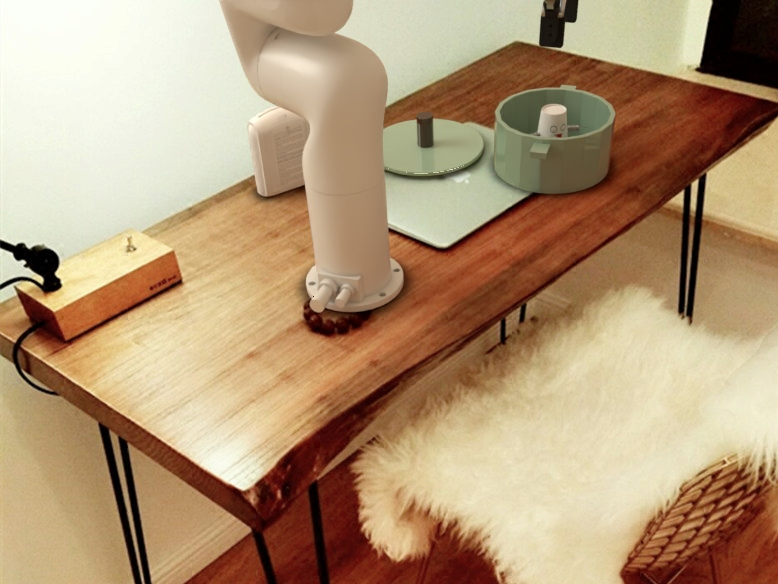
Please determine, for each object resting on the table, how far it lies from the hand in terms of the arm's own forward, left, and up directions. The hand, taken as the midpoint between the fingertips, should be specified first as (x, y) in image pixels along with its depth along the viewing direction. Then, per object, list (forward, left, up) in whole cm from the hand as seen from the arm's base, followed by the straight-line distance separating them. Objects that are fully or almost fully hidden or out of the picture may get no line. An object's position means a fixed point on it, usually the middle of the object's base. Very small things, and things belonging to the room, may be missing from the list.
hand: (558, 33), depth 125 cm
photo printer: (-15, +37, -20) cm, 44 cm away
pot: (0, 0, -20) cm, 20 cm away
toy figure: (0, 0, -20) cm, 20 cm away
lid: (0, +20, -19) cm, 28 cm away
